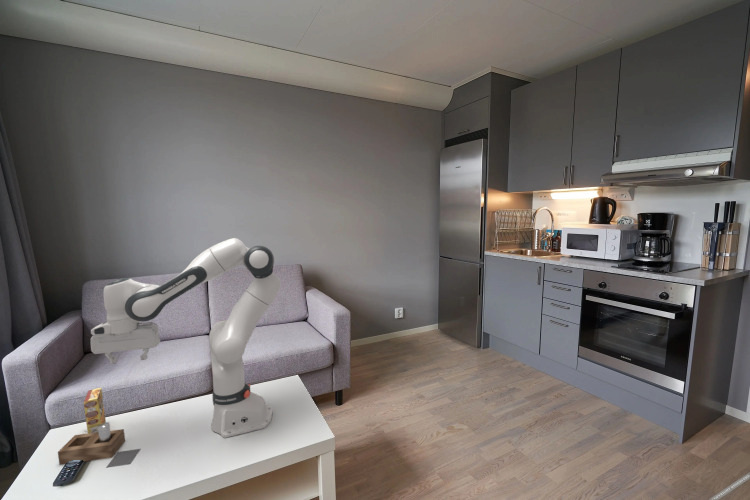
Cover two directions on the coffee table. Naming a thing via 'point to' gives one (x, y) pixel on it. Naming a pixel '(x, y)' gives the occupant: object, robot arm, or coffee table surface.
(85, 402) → the candy box
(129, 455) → the mat
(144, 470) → the coffee table surface
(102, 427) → the peg
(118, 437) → the socket block
